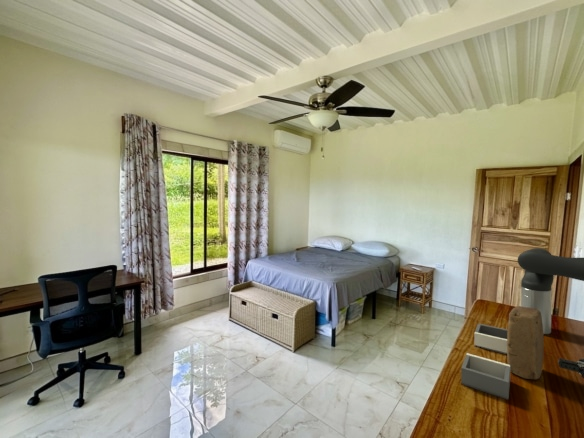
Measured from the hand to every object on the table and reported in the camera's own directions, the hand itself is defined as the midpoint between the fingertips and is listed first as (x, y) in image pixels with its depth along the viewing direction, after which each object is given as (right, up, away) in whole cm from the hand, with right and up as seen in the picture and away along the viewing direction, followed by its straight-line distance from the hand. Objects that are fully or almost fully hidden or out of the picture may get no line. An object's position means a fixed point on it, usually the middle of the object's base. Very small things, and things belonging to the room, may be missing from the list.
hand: (558, 362), depth 81 cm
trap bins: (-12, -6, +11) cm, 17 cm away
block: (-5, -6, +5) cm, 9 cm away
